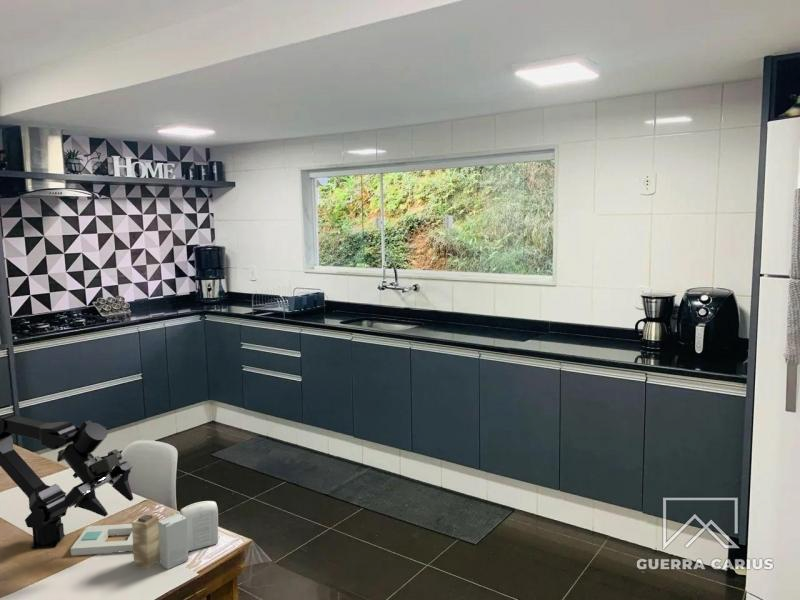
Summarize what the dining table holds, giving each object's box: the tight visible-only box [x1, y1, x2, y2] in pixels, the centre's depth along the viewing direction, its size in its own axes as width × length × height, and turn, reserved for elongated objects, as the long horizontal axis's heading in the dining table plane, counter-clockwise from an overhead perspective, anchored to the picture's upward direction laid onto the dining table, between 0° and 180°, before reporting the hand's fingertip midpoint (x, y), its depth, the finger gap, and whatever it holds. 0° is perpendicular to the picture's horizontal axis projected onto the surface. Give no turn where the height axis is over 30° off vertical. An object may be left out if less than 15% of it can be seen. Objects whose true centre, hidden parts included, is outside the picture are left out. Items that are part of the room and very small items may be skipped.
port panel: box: [70, 523, 133, 556], centre depth 166 cm, size 20×12×2 cm, turn 98°
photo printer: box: [179, 500, 219, 552], centre depth 164 cm, size 10×4×12 cm, turn 123°
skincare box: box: [158, 513, 190, 570], centre depth 155 cm, size 6×4×12 cm
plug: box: [131, 513, 160, 570], centre depth 155 cm, size 4×4×13 cm
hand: (119, 507), depth 157 cm, fingers open, 9 cm apart
